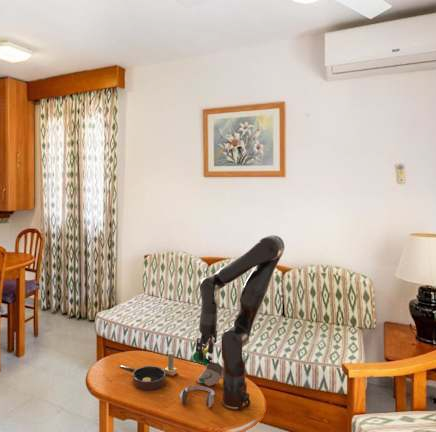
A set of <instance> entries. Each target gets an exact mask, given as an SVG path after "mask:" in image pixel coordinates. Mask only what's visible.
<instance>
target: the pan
mask: <svg viewBox="0 0 436 432" xmlns="http://www.w3.org/2000/svg"><path fill="white" fill-rule="evenodd" d="M146 377H148V378H151V381H150V382H146V381H142V380H143V378H146ZM166 378H167V375H166V372H165V371H164V369H163V368H161V367H159V366H154V365H146V366H141V367H139V368H137V369H135V371H134V372H133V373H132V385H133V386H134V388H136V389H137V390H141V391H145V392H148V391H149V392H150V391H157V390H160V389H162V388H163V387H164V386H165V385H166V381H167V379H166Z"/></svg>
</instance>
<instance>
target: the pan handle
mask: <svg viewBox="0 0 436 432" xmlns="http://www.w3.org/2000/svg"><path fill="white" fill-rule="evenodd" d="M119 369H121V370H124V371H126V372H129V373H132V374H133V372H134V371H135V370H136V369H134V368H131V367H129V366H125V365H123V364H120V365H119Z"/></svg>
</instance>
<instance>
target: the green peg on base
mask: <svg viewBox="0 0 436 432" xmlns="http://www.w3.org/2000/svg"><path fill="white" fill-rule="evenodd" d="M163 370H164V371H165V372H166V376H167V377H168V376H169V377H172V378H173V377H175V376H176V375H178V368H177V367H174V352H173V351H168V352H167V367H165V368H164V369H163Z"/></svg>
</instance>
